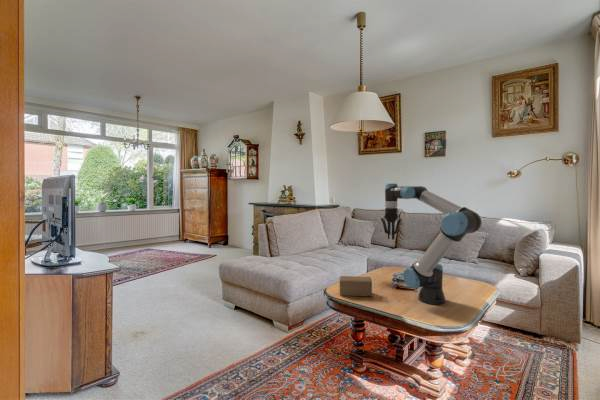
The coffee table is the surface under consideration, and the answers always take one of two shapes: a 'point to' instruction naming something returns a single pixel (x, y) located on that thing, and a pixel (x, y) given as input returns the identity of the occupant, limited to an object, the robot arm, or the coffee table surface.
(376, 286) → the coffee table surface
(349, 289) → the block
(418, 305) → the coffee table surface
